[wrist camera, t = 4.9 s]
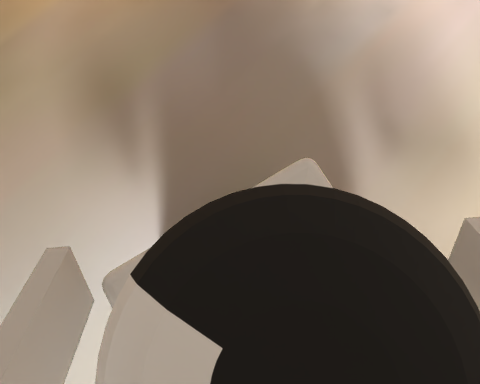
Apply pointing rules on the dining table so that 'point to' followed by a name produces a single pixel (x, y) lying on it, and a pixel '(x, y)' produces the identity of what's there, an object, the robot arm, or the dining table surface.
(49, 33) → the dining table surface
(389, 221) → the container
